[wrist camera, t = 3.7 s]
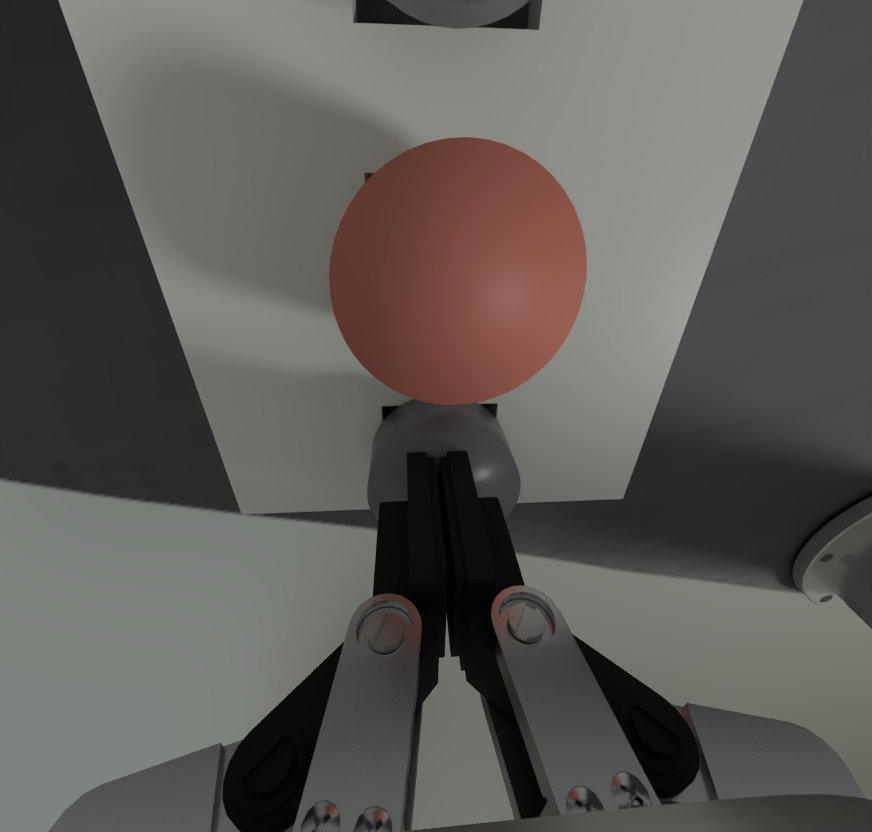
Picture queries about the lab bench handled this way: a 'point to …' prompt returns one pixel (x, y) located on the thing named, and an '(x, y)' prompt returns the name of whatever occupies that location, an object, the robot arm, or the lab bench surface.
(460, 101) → the control box
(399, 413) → the grey knob
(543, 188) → the red knob
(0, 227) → the lab bench surface
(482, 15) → the grey knob
